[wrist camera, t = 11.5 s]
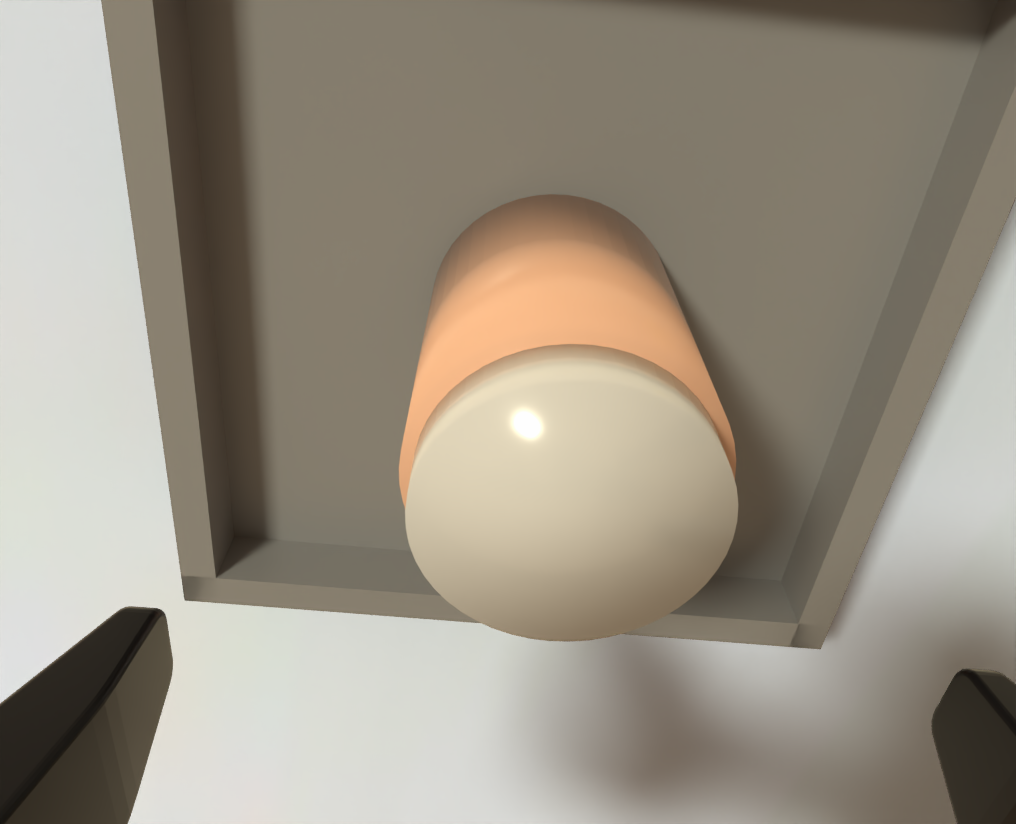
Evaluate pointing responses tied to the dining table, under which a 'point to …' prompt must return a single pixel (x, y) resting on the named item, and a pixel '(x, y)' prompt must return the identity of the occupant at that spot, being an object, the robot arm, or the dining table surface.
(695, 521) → the shaker
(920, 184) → the tray
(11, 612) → the dining table surface
